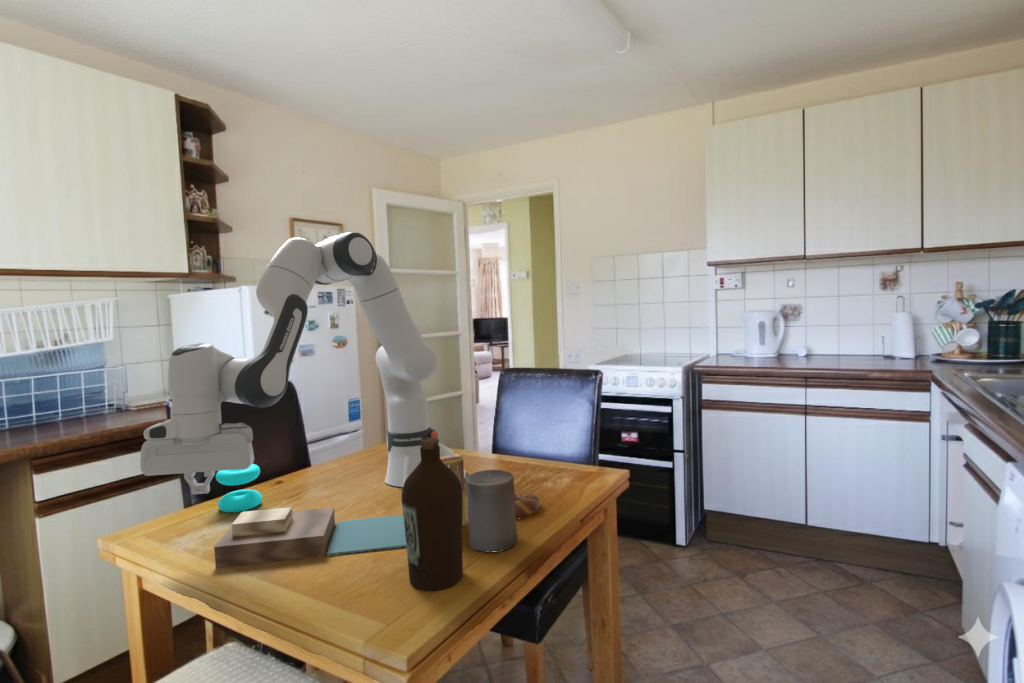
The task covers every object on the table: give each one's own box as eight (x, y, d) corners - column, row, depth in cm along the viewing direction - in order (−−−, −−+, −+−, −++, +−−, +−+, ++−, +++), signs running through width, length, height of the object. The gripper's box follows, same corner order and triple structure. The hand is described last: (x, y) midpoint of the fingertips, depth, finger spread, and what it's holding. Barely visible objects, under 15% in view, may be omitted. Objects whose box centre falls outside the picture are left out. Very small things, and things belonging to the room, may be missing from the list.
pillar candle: (512, 530, 120) (509, 461, 119) (521, 550, 111) (517, 474, 110) (466, 536, 119) (462, 466, 118) (471, 556, 109) (467, 479, 108)
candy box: (460, 519, 128) (457, 452, 127) (467, 526, 124) (463, 457, 123) (422, 527, 124) (418, 458, 123) (428, 534, 120) (424, 463, 119)
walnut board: (335, 524, 127) (334, 507, 127) (324, 555, 112) (323, 535, 111) (240, 534, 124) (238, 516, 124) (215, 567, 108) (214, 547, 108)
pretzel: (528, 500, 140) (528, 485, 139) (550, 514, 130) (549, 498, 129) (483, 509, 134) (482, 493, 134) (502, 524, 125) (501, 508, 124)
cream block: (292, 518, 121) (291, 507, 121) (285, 531, 114) (284, 519, 114) (242, 523, 120) (241, 511, 119) (232, 536, 113) (231, 524, 113)
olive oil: (455, 559, 108) (449, 429, 106) (474, 584, 98) (468, 441, 96) (399, 572, 103) (392, 437, 102) (414, 599, 94) (406, 450, 92)
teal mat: (409, 516, 131) (409, 514, 131) (409, 546, 114) (409, 544, 114) (337, 523, 128) (337, 521, 128) (327, 556, 111) (327, 553, 111)
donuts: (233, 461, 147) (268, 462, 145) (236, 499, 147) (270, 500, 146) (205, 473, 137) (242, 474, 135) (209, 513, 138) (245, 515, 136)
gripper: (256, 419, 118) (259, 484, 119) (149, 425, 115) (153, 492, 116) (247, 425, 112) (251, 493, 113) (134, 431, 109) (138, 502, 110)
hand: (200, 493), depth 114 cm, fingers closed
